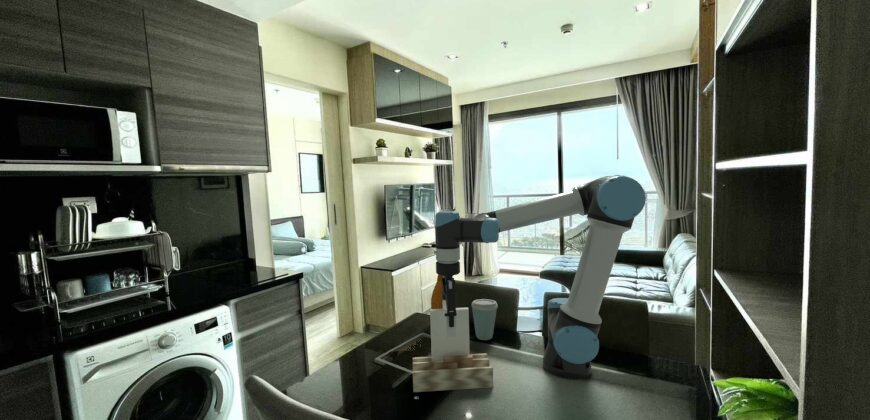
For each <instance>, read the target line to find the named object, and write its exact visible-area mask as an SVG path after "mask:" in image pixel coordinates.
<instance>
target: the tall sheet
mask: <svg viewBox="0 0 870 420" xmlns="http://www.w3.org/2000/svg"><path fill="white" fill-rule="evenodd" d="M450 312H453V311H450ZM445 313H447V309H431V308H430V309H429V317H430V320H429V321H430V335H431V349H430V350H431V357H432V361H443V356H459V355H470V354H471V353H470V351H471V350H470V349H471V348H470V317H469V316H470V315H469V307H456V313H457V315H456V337H447V327H446V316H445Z"/></svg>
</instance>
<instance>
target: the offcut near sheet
mask: <svg viewBox="0 0 870 420" xmlns="http://www.w3.org/2000/svg"><path fill="white" fill-rule="evenodd" d="M448 362H457V365H458V368H473V356H472V355H459V356H443V363H448Z"/></svg>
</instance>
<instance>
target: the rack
mask: <svg viewBox="0 0 870 420" xmlns="http://www.w3.org/2000/svg"><path fill="white" fill-rule="evenodd" d="M470 355H472V356H473V368H458V369H441V370H434V363H443V361H432V356H417V357H416V356H415V357H412V371H413V374H412V389H413V393H421V392H437V391H438V392H439V391H453V390H467V389H468V390H469V389H472V390H473V389H487V388H494V367H493V366H490V358H489V357H488V353H470Z"/></svg>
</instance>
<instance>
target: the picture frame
mask: <svg viewBox="0 0 870 420" xmlns="http://www.w3.org/2000/svg"><path fill="white" fill-rule="evenodd" d="M422 336H423V337H427V338H430V339H431V334H428V333H426V332H421V333H419V334H417V335H415V336H413V337H411V338H410V339H408V340H406V341H404V342H402V343H401V344H399V345H397V346H395V347H394V348H391V349H389V350H387V351H386V352H384V353H382V354H381V355H379V356H377V357H375V358H374V359H373V361H374V363H376V364H379V365H381V366H385V364H386V365H389V366H392V367H393V368H396V369H399V370H402V371H404V372H407V373H410V374H412V375H413V370H410V369H407V368H406V367H403V366H400V365H399V364H396V363H392V362H390V361H387V360H386V359H389V355H390V353H391V352H402V351H404V352H405V351H416V350H415V349H414V348H415V346H414V345H416V340H417V339H418V340H419V339H420V338H422ZM420 340H421V339H420ZM420 340H419V341H420ZM419 341H418V342H419ZM421 341H422V340H421ZM413 342H414V343H413ZM412 343H413V346H414V348H413V347H412V348H413V349H414V350H413V349H412V350H411V345H412ZM420 343H421V342H420ZM409 345H410V347H409ZM417 345H418V344H417ZM407 347H408V348H409V349H410V350H409V349H408V348H407ZM420 347H421V344H420ZM407 349H408V350H407Z"/></svg>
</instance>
